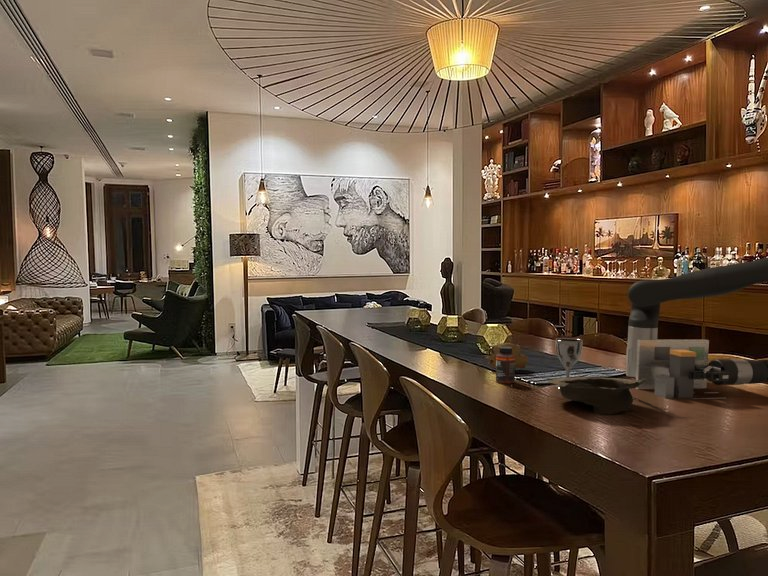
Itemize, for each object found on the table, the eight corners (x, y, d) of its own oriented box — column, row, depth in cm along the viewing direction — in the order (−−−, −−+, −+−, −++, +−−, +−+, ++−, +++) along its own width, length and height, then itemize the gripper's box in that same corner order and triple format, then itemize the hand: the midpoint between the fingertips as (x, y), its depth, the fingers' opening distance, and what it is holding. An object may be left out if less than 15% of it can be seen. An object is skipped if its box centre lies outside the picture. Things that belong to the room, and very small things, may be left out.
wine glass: (580, 386, 182) (582, 338, 182) (580, 391, 175) (582, 342, 174) (554, 384, 185) (556, 337, 184) (553, 389, 178) (554, 340, 177)
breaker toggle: (682, 393, 170) (684, 349, 169) (693, 397, 165) (696, 352, 164) (667, 394, 169) (669, 349, 168) (678, 397, 164) (680, 352, 164)
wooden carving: (522, 368, 211) (523, 341, 211) (529, 370, 207) (530, 342, 206) (481, 370, 206) (482, 342, 206) (488, 372, 202) (489, 344, 201)
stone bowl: (638, 423, 141) (636, 385, 140) (536, 414, 154) (534, 379, 154) (652, 401, 162) (650, 368, 161) (561, 395, 175) (560, 365, 175)
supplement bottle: (516, 381, 187) (517, 346, 187) (512, 385, 182) (513, 349, 181) (497, 379, 190) (499, 345, 189) (493, 383, 184) (494, 347, 184)
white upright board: (703, 391, 180) (706, 339, 179) (741, 403, 165) (744, 347, 164) (635, 391, 176) (637, 339, 175) (667, 404, 161) (670, 347, 160)
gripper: (712, 355, 176) (664, 355, 173) (749, 363, 162) (697, 363, 159) (711, 379, 176) (663, 380, 174) (748, 390, 162) (695, 390, 160)
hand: (679, 372), depth 167 cm, fingers open, 8 cm apart
